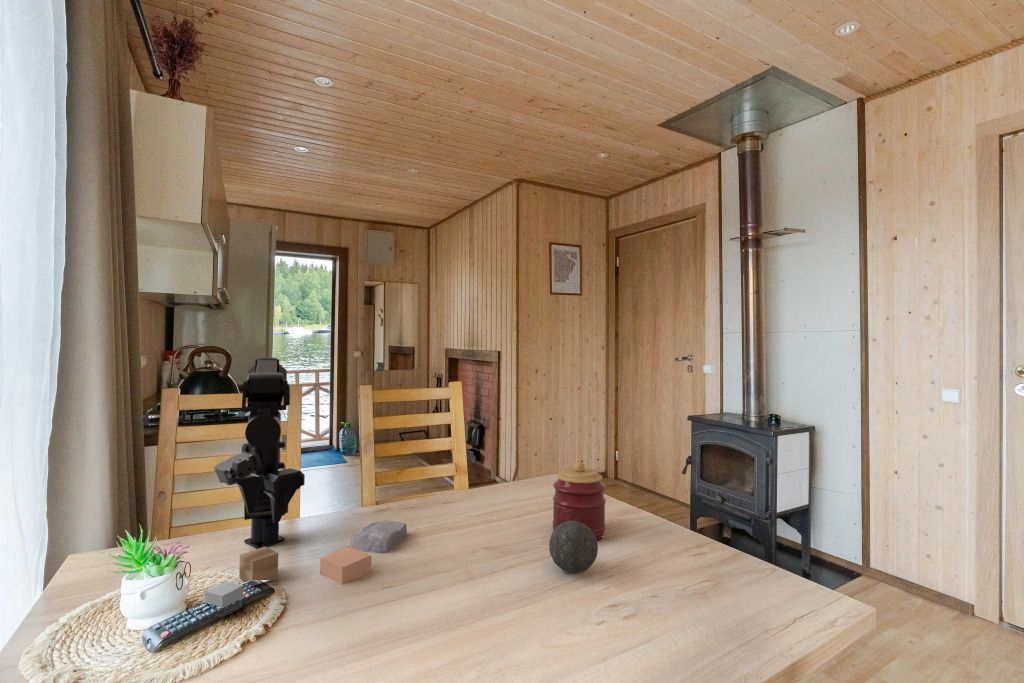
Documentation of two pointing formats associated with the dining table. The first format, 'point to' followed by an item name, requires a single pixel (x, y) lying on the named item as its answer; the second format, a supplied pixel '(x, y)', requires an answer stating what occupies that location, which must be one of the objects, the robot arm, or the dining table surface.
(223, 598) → the grey block
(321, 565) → the terracotta block
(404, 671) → the dining table surface
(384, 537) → the stone block
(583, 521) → the canister
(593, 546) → the decorative ball
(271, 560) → the walnut cube
